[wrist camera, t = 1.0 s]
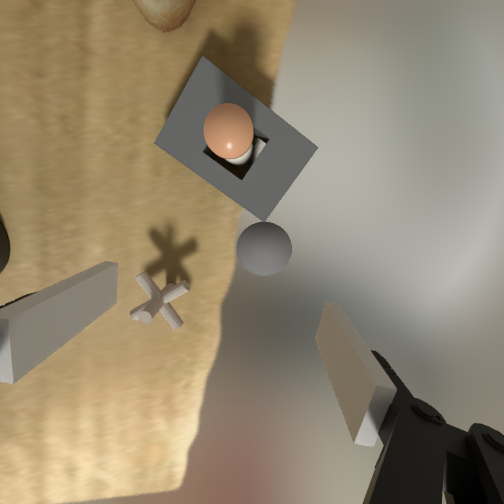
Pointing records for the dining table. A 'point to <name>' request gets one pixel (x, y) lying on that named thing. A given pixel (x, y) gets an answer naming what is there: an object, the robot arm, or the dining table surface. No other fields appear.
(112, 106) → the dining table surface
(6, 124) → the dining table surface
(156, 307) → the pipe connector
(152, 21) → the bread roll
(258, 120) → the grey flat block
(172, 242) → the dining table surface
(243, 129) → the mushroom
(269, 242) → the grey round plate
